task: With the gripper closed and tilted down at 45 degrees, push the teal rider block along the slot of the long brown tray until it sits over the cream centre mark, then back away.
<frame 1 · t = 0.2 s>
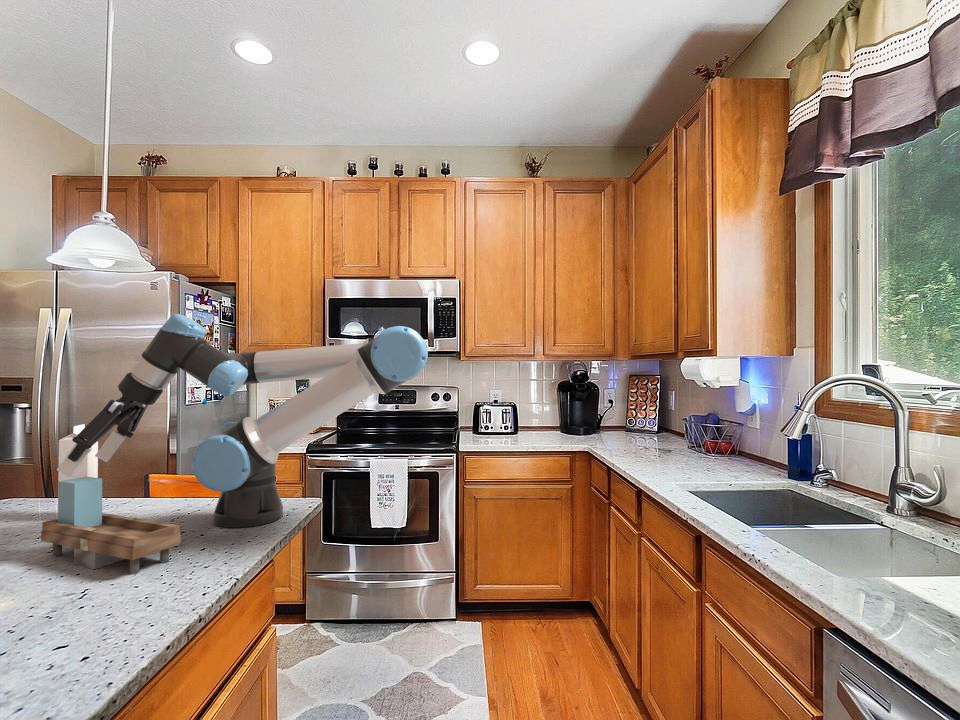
hand: (83, 465, 108), 16 cm above the countertop, tool tilted 35°, fingers open, 13 cm apart
milk: (78, 516, 128), on the countertop
long brown tray: (110, 558, 99), on the countertop
rider: (80, 526, 102), point 5 cm above the countertop, touching long brown tray
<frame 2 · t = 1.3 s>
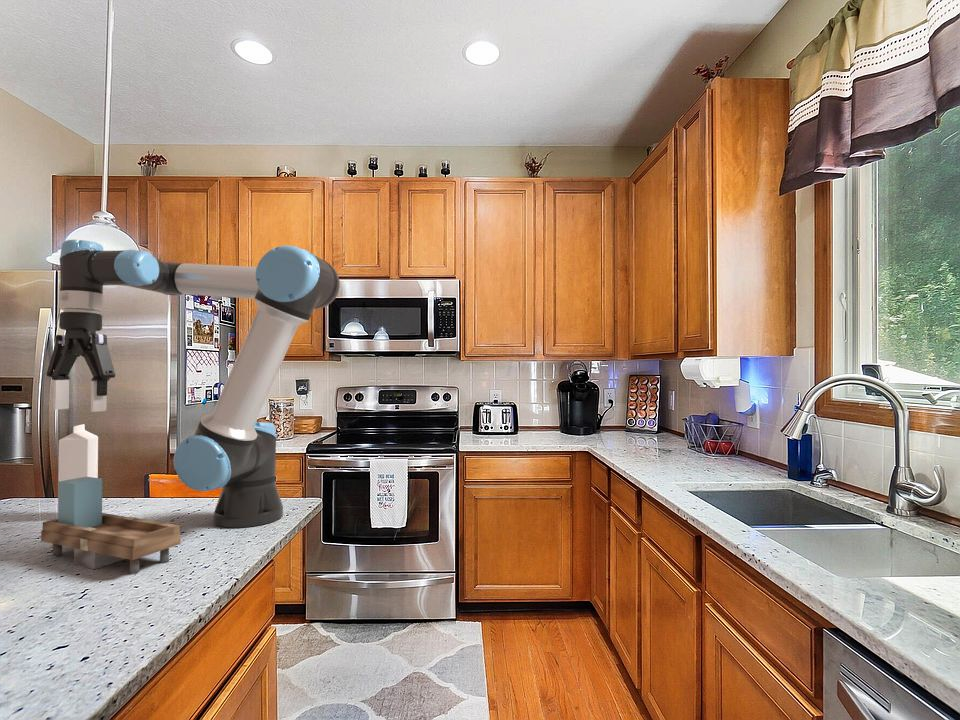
hand: (79, 410, 115), 27 cm above the countertop, tool pointing down, fingers open, 12 cm apart
nothing on the countertop moved.
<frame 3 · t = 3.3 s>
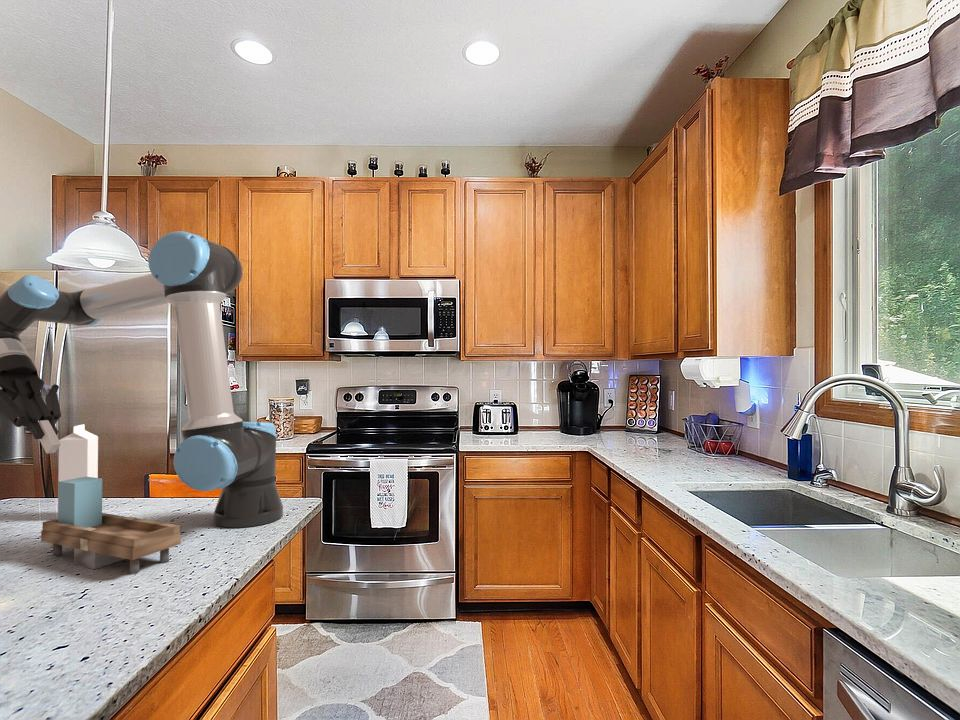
hand: (53, 448, 106), 20 cm above the countertop, tool tilted 45°, fingers closed
nothing on the countertop moved.
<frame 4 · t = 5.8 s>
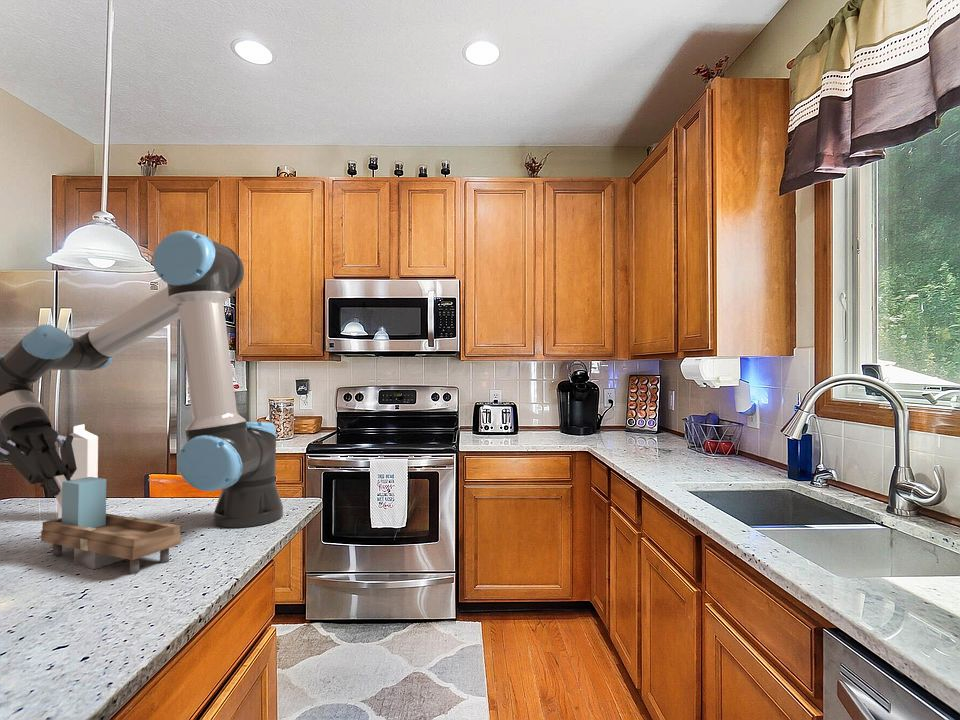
hand: (70, 505, 103), 9 cm above the countertop, tool tilted 45°, fingers closed
rider: (83, 526, 102), point 5 cm above the countertop, touching gripper
everything else where it was.
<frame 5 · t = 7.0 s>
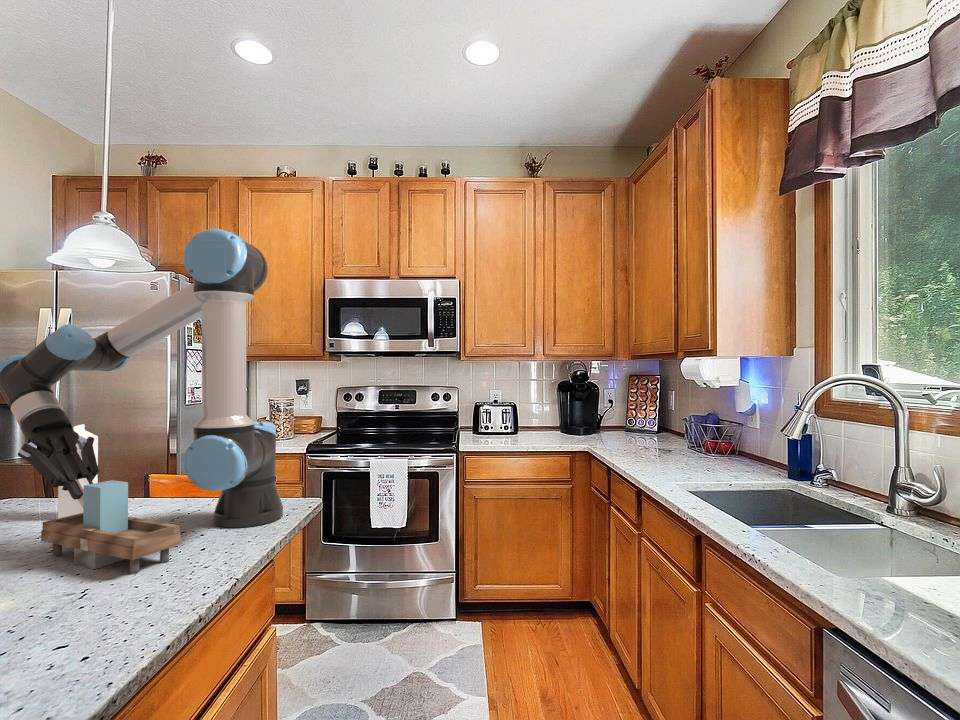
hand: (93, 509, 101), 9 cm above the countertop, tool tilted 45°, fingers closed
rider: (105, 531, 99), point 5 cm above the countertop, touching long brown tray, gripper
everything else where it was.
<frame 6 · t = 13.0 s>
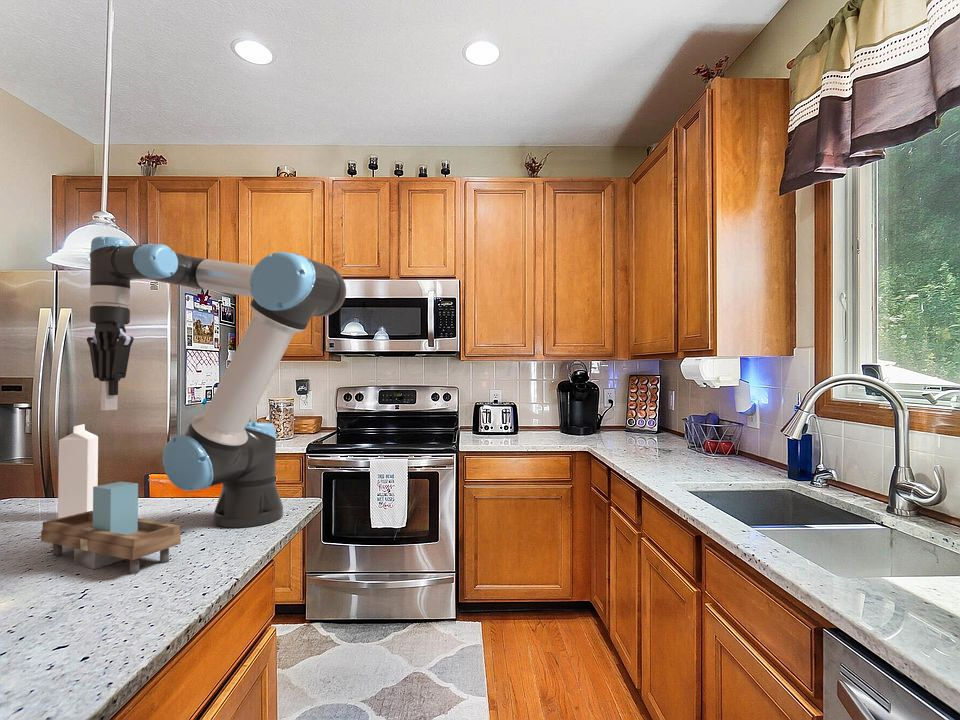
hand: (109, 409, 120), 26 cm above the countertop, tool pointing down, fingers closed
rider: (115, 533, 98), point 5 cm above the countertop, touching long brown tray
everything else where it was.
at the end: rider 1.9 cm from the long brown tray (horizontally); rider tilted 0°; rider point 5.0 cm above the countertop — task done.
